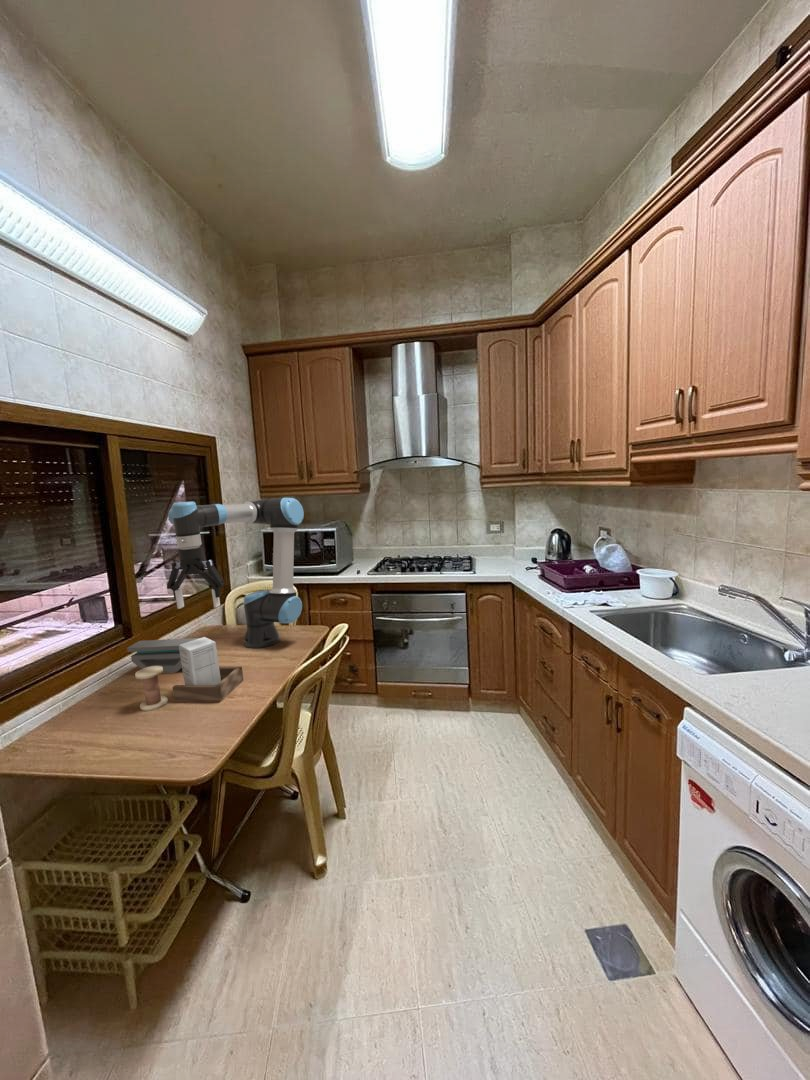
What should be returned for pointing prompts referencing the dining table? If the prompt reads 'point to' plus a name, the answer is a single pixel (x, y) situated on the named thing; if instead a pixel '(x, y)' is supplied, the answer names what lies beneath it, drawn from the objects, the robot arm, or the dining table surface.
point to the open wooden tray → (210, 687)
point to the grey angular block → (158, 654)
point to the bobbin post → (151, 688)
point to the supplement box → (200, 662)
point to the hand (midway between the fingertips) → (199, 607)
